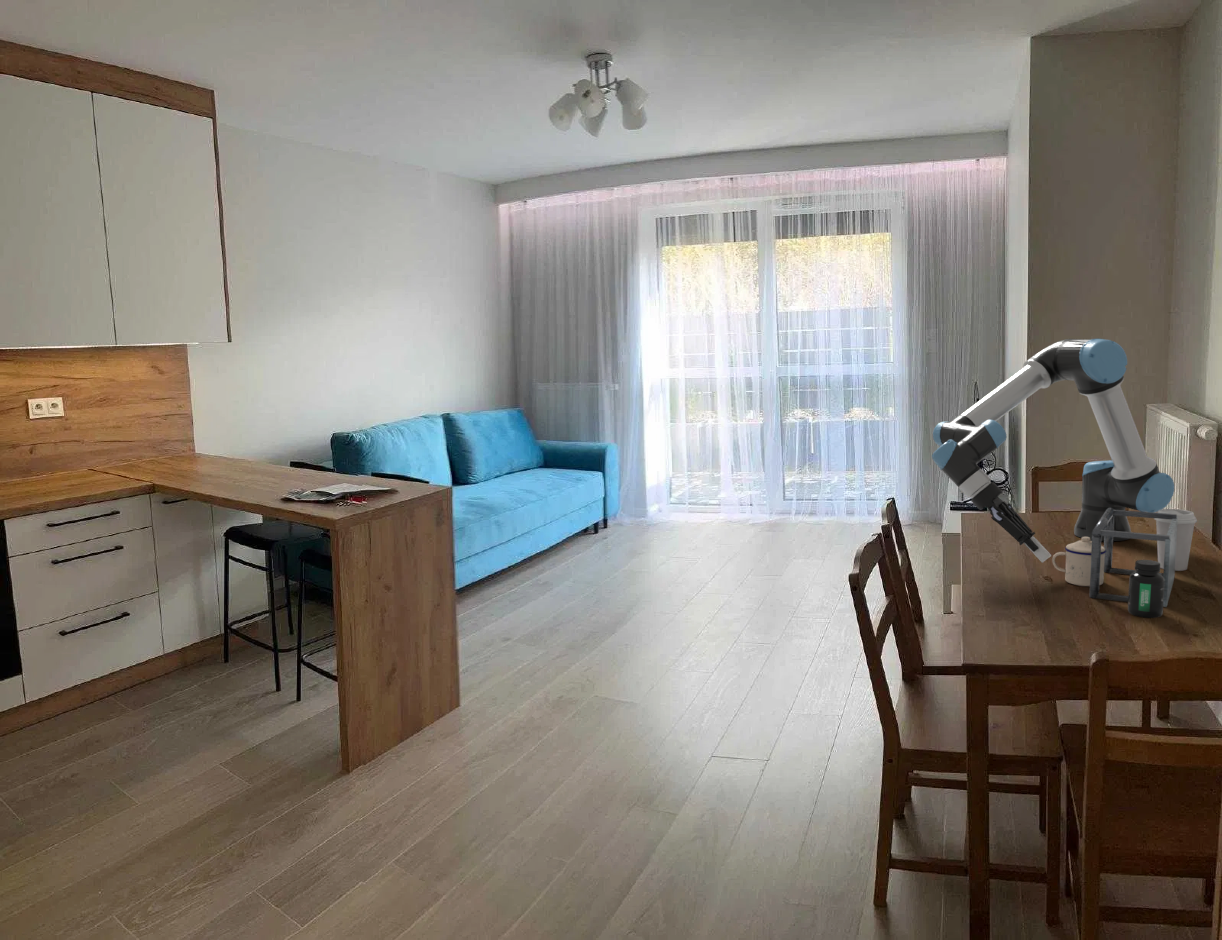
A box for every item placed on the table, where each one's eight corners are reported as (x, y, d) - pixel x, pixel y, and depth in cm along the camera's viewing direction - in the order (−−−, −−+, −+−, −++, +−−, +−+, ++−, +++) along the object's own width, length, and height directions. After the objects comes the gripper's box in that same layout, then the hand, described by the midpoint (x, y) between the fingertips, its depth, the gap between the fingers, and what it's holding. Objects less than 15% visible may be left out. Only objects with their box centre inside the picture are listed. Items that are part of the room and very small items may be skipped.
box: (1103, 570, 239) (1106, 507, 237) (1174, 577, 230) (1178, 512, 228) (1088, 597, 218) (1091, 528, 215) (1166, 607, 208) (1170, 535, 206)
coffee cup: (1194, 573, 233) (1197, 516, 230) (1151, 569, 238) (1154, 514, 235) (1193, 564, 241) (1197, 509, 238) (1152, 561, 246) (1154, 507, 243)
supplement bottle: (1148, 620, 200) (1151, 568, 198) (1120, 612, 206) (1123, 561, 205) (1169, 615, 203) (1172, 563, 201) (1141, 607, 209) (1143, 556, 207)
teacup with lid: (1104, 578, 232) (1106, 534, 230) (1104, 588, 224) (1106, 542, 222) (1052, 574, 237) (1053, 531, 236) (1050, 583, 229) (1052, 539, 228)
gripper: (976, 494, 247) (1040, 561, 240) (963, 503, 236) (1030, 573, 230) (997, 477, 243) (1063, 544, 236) (985, 485, 232) (1054, 556, 226)
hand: (1046, 558), depth 233 cm, fingers closed
